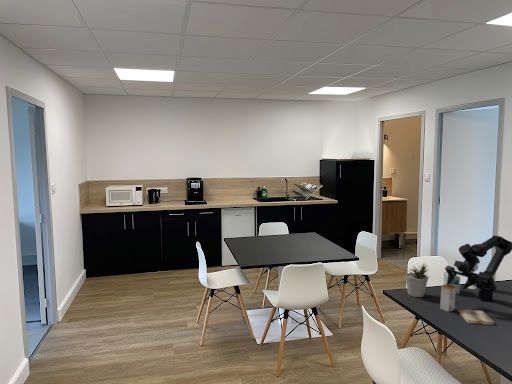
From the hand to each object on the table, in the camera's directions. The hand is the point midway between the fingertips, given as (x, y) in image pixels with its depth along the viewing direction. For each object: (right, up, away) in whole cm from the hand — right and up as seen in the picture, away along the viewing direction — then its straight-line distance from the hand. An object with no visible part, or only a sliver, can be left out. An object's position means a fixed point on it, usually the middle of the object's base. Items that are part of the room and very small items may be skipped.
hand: (455, 286), depth 212 cm
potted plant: (-13, -10, +20) cm, 26 cm away
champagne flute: (+28, -9, +36) cm, 46 cm away
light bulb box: (+12, -10, +28) cm, 32 cm away
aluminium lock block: (-5, -12, -2) cm, 13 cm away
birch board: (+4, -13, -13) cm, 19 cm away
